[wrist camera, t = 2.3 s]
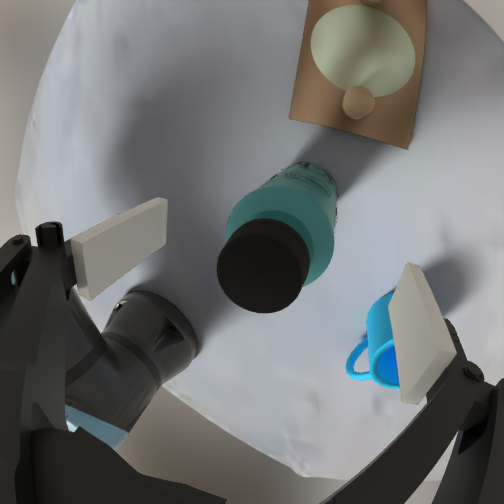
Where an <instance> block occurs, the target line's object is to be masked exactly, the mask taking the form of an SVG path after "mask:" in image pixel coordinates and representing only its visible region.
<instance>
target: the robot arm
mask: <svg viewBox="0 0 504 504" xmlns="http://www.w3.org/2000/svg"><path fill="white" fill-rule="evenodd" d="M167 212H168V199H163V198H159V197H156V198H154V199H151V200H149V201H147V202H145V203H142V204H140V205H138V206H136V207H134V208H131V209H129V210H127V211H125V212H123V213H121V214H119V215H116V216H114V217H112V218H110V219H108V220H106V221H104V222H102V223H100V224H98V225H96V226H94V227H92V228H90V229H88V230H86V231H84V232H82V233H80V234H78V235H76V236H74V237H72V238H71V239H69V240H67V241H65V242H64V237H63V228H62V224H61V223H60V222H46V223H43V224H40V225H39V226H37V227H36V228H35V230H36V237H37V243H38V247H36V246H31V241H30V237H29V236H28V235H21V234H20V235H16V236H15V237H13V238H11V239H9V240H8V241H7V242H6V243H5V244H4V245H3V246H2V247H1V248H0V504H225V502H226V500H227V499H224V498H221V497H218V496H215V495H212V494H210V493H207V492H204V491H201V490H199V489H196V488H194V487H191V486H188V485H186V484H182V483H177V482H172V481H167V480H163V479H158V478H154V477H150V476H146V475H143V474H140V473H139V472H137V471H136V470H135V469H134V468H133V467H132V466H130V465H129V464H128V463H127V462H126V461H125V460H124V459H123V458H122V457H121V456H120V455H119V454H117V453H116V452H115V451H114V450H116V448H117V447H118V446H119V445H120V444H121V442H122V441H123V440H124V439H125V438H126V437H127V436H129V432H130V431H131V429H132V428H133V426H134V425H135V423H136V422H137V420H138V419H139V417H140V416H141V414H142V413H143V412H144V410H145V409H146V407H147V406H148V404H149V403H150V401H151V400H152V398H153V397H154V395H155V394H156V392H157V391H158V390H159V388H160V387H161V385H162V384H164V383H165V382H167V381H168V380H170V379H171V378H173V377H174V376H176V375H177V374H179V373H180V372H182V371H183V370H185V369H186V368H187V367H188V366H189V364H190V363H191V361H192V360H193V358H194V357H195V355H196V352H197V340H196V336H195V333H194V331H193V329H192V327H191V325H190V323H189V322H188V320H187V319H186V318H185V317H184V315H183V314H182V313H181V312H180V311H179V310H178V309H177V308H176V307H175V306H173V305H172V304H171V303H170V302H168V301H167V300H165V299H163V298H162V297H160V296H158V295H155V294H153V293H149V292H145V291H135V292H131V293H129V294H127V295H126V296H125V297H124V298H122V299H121V300H120V301H119V302H118V303H117V304H116V306H115V307H114V309H113V311H112V313H111V315H110V317H109V320H108V322H107V324H106V326H105V328H104V330H103V332H102V333H101V334H100V332H99V330H98V329H97V327H96V325H95V324H94V322H93V320H92V319H91V317H90V315H89V314H88V312H87V310H86V308H85V307H84V305H83V303H82V301H81V300H80V298H79V296H78V294H77V292H76V290H75V289H74V287H73V286H74V285H76V284H77V287H78V292H79V295H80V296H82V297H84V298H86V299H88V300H90V301H91V300H92V299H94V298H95V297H96V296H97V295H99V294H100V293H101V292H102V291H104V290H105V289H106V288H108V287H109V286H110V285H112V284H113V283H114V282H115V281H117V280H118V279H119V278H121V277H122V276H123V275H125V274H126V273H127V272H129V271H130V270H131V269H133V268H134V267H135V266H137V265H138V264H139V263H141V262H142V261H143V260H145V259H146V258H147V257H149V256H150V255H152V254H153V253H154V252H156V251H157V250H158V249H160V248H161V247H163V246H164V245H165V244H166V234H167ZM388 309H389V315H390V320H391V326H392V332H393V338H394V344H395V351H396V358H397V366H398V374H399V383H400V394H401V402H402V403H409V404H416V405H418V404H419V403H420V401H421V400H422V399H423V398H424V397H425V395H426V397H427V404H426V405H425V406H424V407H423V409H422V410H421V411H420V412H419V413H418V414H417V415H416V416H415V417H414V419H413V420H412V421H411V422H410V423H409V425H408V426H407V427H406V428H405V429H404V430H403V431H402V432H401V433H400V434H399V435H398V436H397V437H396V438H395V439H394V440H393V441H392V442H391V443H390V444H389V445H388V446H387V447H386V448H385V449H384V450H383V451H382V452H381V453H380V454H379V455H378V456H377V457H376V458H375V459H374V460H373V461H372V462H371V463H369V464H368V465H367V466H366V467H365V468H364V469H363V470H361V471H360V472H359V473H358V474H357V475H356V476H354V477H353V478H352V479H351V480H350V481H348V482H347V483H346V484H345V485H343V486H342V487H341V488H340V489H338V490H337V491H336V492H334V493H333V494H332V495H330V496H329V497H328V498H326V499H325V500H324V501H322V502H321V503H319V504H404V503H405V502H406V501H407V500H408V498H409V497H410V496H411V495H412V494H413V493H414V491H415V490H416V489H417V488H418V486H419V485H420V484H421V483H422V482H423V480H424V479H425V478H426V477H427V475H428V474H429V473H430V471H431V470H432V469H433V467H434V466H435V465H436V463H437V462H438V460H439V459H440V458H441V456H442V455H443V453H444V452H445V450H446V449H447V447H448V446H449V444H450V443H451V441H452V440H453V438H454V436H455V435H456V433H457V432H458V434H457V438H456V441H455V444H454V447H453V450H452V454H451V457H450V459H449V462H448V465H447V468H446V471H445V473H444V476H443V478H442V481H441V483H440V486H439V488H438V490H437V493H436V495H435V497H434V500H433V502H432V504H504V378H502V379H501V380H500V381H499V382H498V383H497V385H496V386H493V385H491V384H489V383H487V382H485V381H484V375H483V372H482V371H481V369H480V368H479V367H478V366H477V365H476V364H474V363H473V362H471V361H467V358H466V356H465V353H464V350H463V348H462V345H461V343H460V340H459V338H458V336H457V333H456V330H455V328H454V326H453V325H452V324H451V323H450V321H449V320H448V319H445V318H443V316H442V314H441V311H440V309H439V306H438V304H437V302H436V300H435V297H434V295H433V293H432V291H431V289H430V286H429V284H428V282H427V280H426V278H425V276H424V274H423V272H422V270H421V268H420V266H418V265H415V264H412V263H409V262H407V263H406V266H405V268H404V271H403V273H402V276H401V278H400V280H399V283H398V285H397V287H396V290H395V292H394V294H393V296H392V299H391V301H390V303H389V305H388ZM458 430H459V431H458Z"/></svg>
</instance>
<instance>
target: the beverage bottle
mask: <svg viewBox="0 0 504 504" xmlns="http://www.w3.org/2000/svg"><path fill="white" fill-rule="evenodd" d="M294 164H296V165H293V164H292V165H293V166H290V167H289V168H287V167H286V168H287V169H286V170H284V171H283V172H281V173H280V174H278V175H275V176H274V177H272V178H271V179H270V180H269V181H268V182H266V183H264V185H262V186H261V187H260V188H259V189H257V190H255V191H253V192H251V193H250V194H248V195H246V196H245V197H244V198H243V199H242V200H240V201H239V203H238V204H237V205H236V206H235V208H234V209H233V210H232V212H231V214H230V216H229V219H228V223H227V228H226V241H227V243H226V245H225V246H224V248H223V249H222V251H221V253H220V255H219V258H218V262H217V276H218V280H219V283H220V286H221V288H222V290H223V291H224V293H225V294H226V295H227V296H228V298H229V299H230V300H231V301H233V302H234V303H235V304H237V305H238V306H240V307H242V308H244V309H246V310H248V311H252V312H256V313H274V312H277V311H280V310H282V309H284V308H286V307H288V306H289V305H290V304H291V303H292V302H293V301H294V300H295V299H296V298H297V296H298V295H299V293H300V291H301V288H302V287H304V286H306V285H308V284H310V283H312V282H313V281H315V280H316V279H317V278H318V277H319V276H320V275H321V274H322V273H323V272H324V271H325V270H326V268H327V267H328V265H329V263H330V261H331V258H332V255H333V250H334V233H335V232H334V229H335V219H336V214H337V213H338V212H337V208H336V207H337V206H336V197H337V198H338V196H337V193H336V192H337V188H336V187H335V186H336V184H334V182H335V180H334V179H333V180H332V177H330V175H329V174H328V173H327V172H326V171H325V170H326V169H325V170H324V169H322V168H320V167H319V166H316V164H315V165H314V164H311V163H309V162H308V163H294ZM282 170H283V169H282ZM267 180H268V179H267ZM333 181H334V182H333ZM258 187H259V186H258ZM337 216H338V215H337ZM337 218H338V217H337ZM335 231H336V230H335Z"/></svg>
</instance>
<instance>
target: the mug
mask: <svg viewBox="0 0 504 504" xmlns="http://www.w3.org/2000/svg"><path fill="white" fill-rule="evenodd" d="M393 294H394V293H390V294H388V295H385V296H383V297H381V298H380V299H379V300H378V301H377V302H376V303H374V304H373V306H372V307H371V309H370V310H369V312H368V316H367V320H366V323H367V336H368V337H366V338H365V339H364V340H363V341H362V342H361V343H359V344H358V345H357V346H356V348H355V349H354V350H353V351H352V352H351V354H350V356H349V357H348V359H347V363H346V372H347V374H348V375H349V376H350V377H351V378H352V379H355V380H360V381H363V380H370V379H373V380H374V381H375V382H377V383H378V384H379V385H381V386H384V387H387V388H394V389H400V383H399V374H398V366H397V358H396V351H395V344H394V338H393V332H392V326H391V320H390V315H389V309H388V305H389V303H390V301H391V299H392V296H393ZM367 347H368V353H369V370H370V371H368V372H363V373H359V372H355V371H354V365H355V362H356V360H357V358H358V357H359V355H360V354H361V353H362V352H363V351H364V350H365V349H366V348H367Z"/></svg>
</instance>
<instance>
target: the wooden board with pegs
mask: <svg viewBox="0 0 504 504" xmlns="http://www.w3.org/2000/svg"><path fill="white" fill-rule="evenodd" d="M426 15H427V0H309V4H308V10H307V16H306V22H305V28H304V33H303V39H302V45H301V51H300V57H299V63H298V68H297V74H296V80H295V85H294V91H293V97H292V102H291V108H290V113H289V119H293V120H298V121H303V122H308V123H313V124H317V125H322V126H326V127H330V128H334V129H338V130H342V131H346V132H350V133H354V134H357V135H361V136H365V137H368V138H372V139H375V140H378V141H382V142H385V143H388V144H391V145H394V146H397V147H400V148H403V149H407V150H408V147H409V143H410V138H411V133H412V129H413V123H414V118H415V113H416V107H417V101H418V95H419V89H420V82H421V74H422V66H423V57H424V46H425V34H426Z"/></svg>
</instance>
